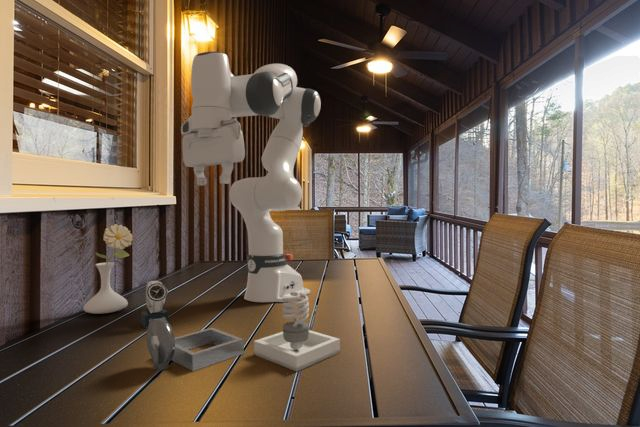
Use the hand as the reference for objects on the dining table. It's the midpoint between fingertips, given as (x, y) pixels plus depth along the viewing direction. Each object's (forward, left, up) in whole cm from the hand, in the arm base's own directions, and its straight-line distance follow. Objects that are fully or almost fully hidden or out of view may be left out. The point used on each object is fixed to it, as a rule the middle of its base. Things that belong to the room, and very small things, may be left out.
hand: (213, 184), depth 92 cm
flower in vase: (+8, -42, -35) cm, 56 cm away
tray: (-5, +22, -35) cm, 42 cm away
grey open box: (+10, +8, -35) cm, 37 cm away
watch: (+5, -20, -35) cm, 41 cm away
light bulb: (-5, +22, -35) cm, 41 cm away
